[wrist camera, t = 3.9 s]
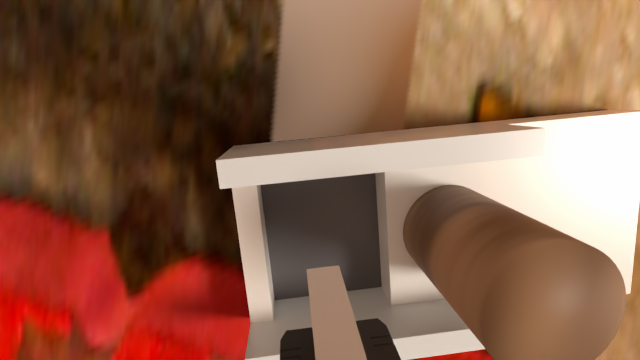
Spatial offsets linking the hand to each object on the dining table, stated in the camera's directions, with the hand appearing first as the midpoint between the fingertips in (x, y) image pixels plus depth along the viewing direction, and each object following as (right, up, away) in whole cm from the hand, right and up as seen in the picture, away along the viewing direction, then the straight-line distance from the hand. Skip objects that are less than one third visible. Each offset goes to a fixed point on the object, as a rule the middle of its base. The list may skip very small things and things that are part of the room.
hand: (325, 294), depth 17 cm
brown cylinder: (+8, +2, +7) cm, 11 cm away
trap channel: (+8, +3, +10) cm, 13 cm away
